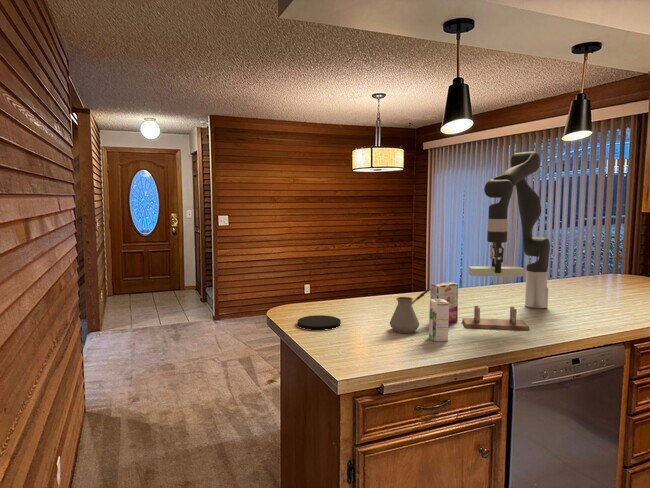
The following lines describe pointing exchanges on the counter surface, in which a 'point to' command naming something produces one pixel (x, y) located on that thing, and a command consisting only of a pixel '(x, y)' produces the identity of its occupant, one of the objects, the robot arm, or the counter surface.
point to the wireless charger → (319, 322)
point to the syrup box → (438, 320)
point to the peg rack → (495, 321)
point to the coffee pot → (405, 315)
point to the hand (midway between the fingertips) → (496, 271)
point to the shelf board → (491, 271)
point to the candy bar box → (447, 297)
